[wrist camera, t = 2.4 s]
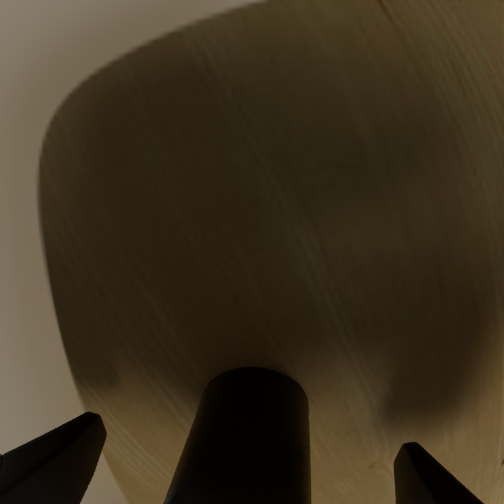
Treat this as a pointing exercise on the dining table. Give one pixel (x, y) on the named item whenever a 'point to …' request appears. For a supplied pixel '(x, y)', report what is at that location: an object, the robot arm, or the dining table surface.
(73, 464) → the robot arm
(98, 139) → the dining table surface
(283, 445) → the battery
